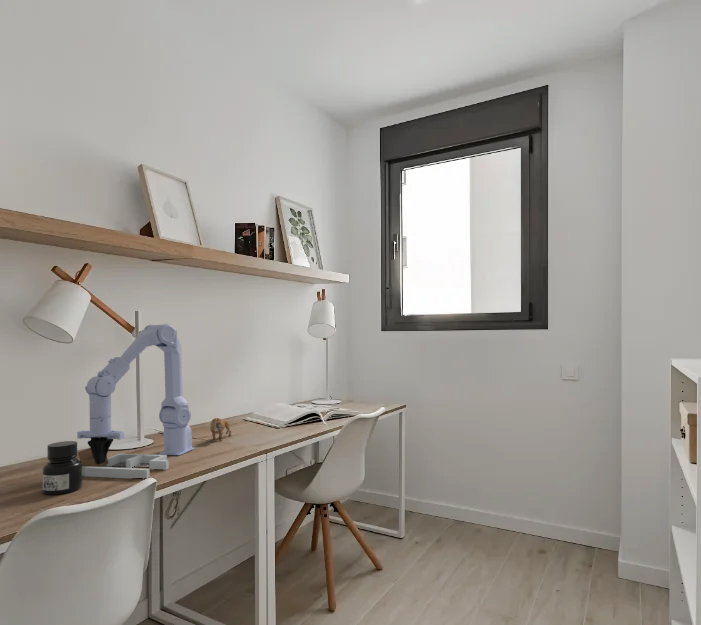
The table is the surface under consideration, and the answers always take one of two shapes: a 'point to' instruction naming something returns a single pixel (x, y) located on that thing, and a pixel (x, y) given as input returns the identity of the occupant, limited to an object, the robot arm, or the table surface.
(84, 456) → the walnut block
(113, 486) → the table surface
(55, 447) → the ink bottle
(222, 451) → the table surface
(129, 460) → the trap box
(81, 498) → the table surface
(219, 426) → the lion figurine
